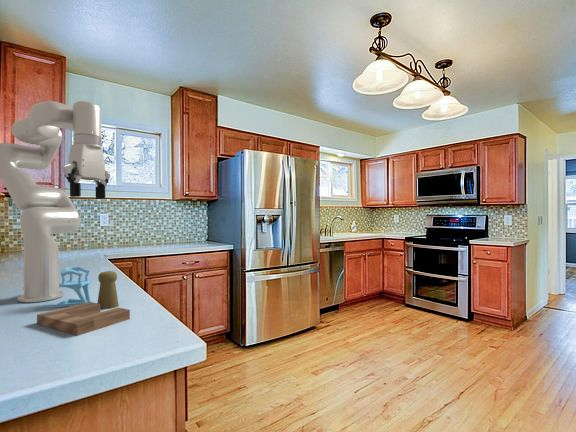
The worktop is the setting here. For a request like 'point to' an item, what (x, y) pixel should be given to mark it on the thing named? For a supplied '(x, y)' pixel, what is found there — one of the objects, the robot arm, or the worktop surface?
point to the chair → (75, 286)
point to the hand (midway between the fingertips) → (88, 197)
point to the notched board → (82, 318)
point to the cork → (107, 290)
